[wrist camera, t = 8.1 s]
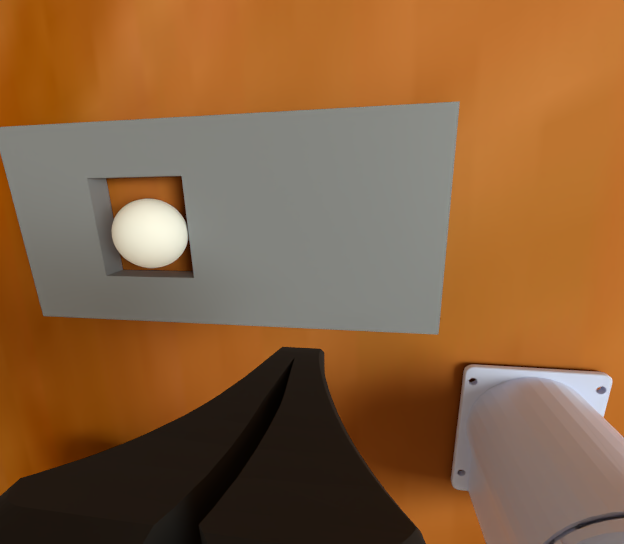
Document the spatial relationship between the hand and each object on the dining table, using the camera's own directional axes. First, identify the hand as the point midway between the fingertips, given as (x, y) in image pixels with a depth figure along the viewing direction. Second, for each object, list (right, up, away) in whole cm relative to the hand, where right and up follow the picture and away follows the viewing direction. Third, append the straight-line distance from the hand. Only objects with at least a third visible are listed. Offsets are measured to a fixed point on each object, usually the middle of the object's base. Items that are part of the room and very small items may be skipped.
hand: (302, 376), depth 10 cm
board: (-5, +6, +10) cm, 13 cm away
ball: (-9, +6, +9) cm, 14 cm away
